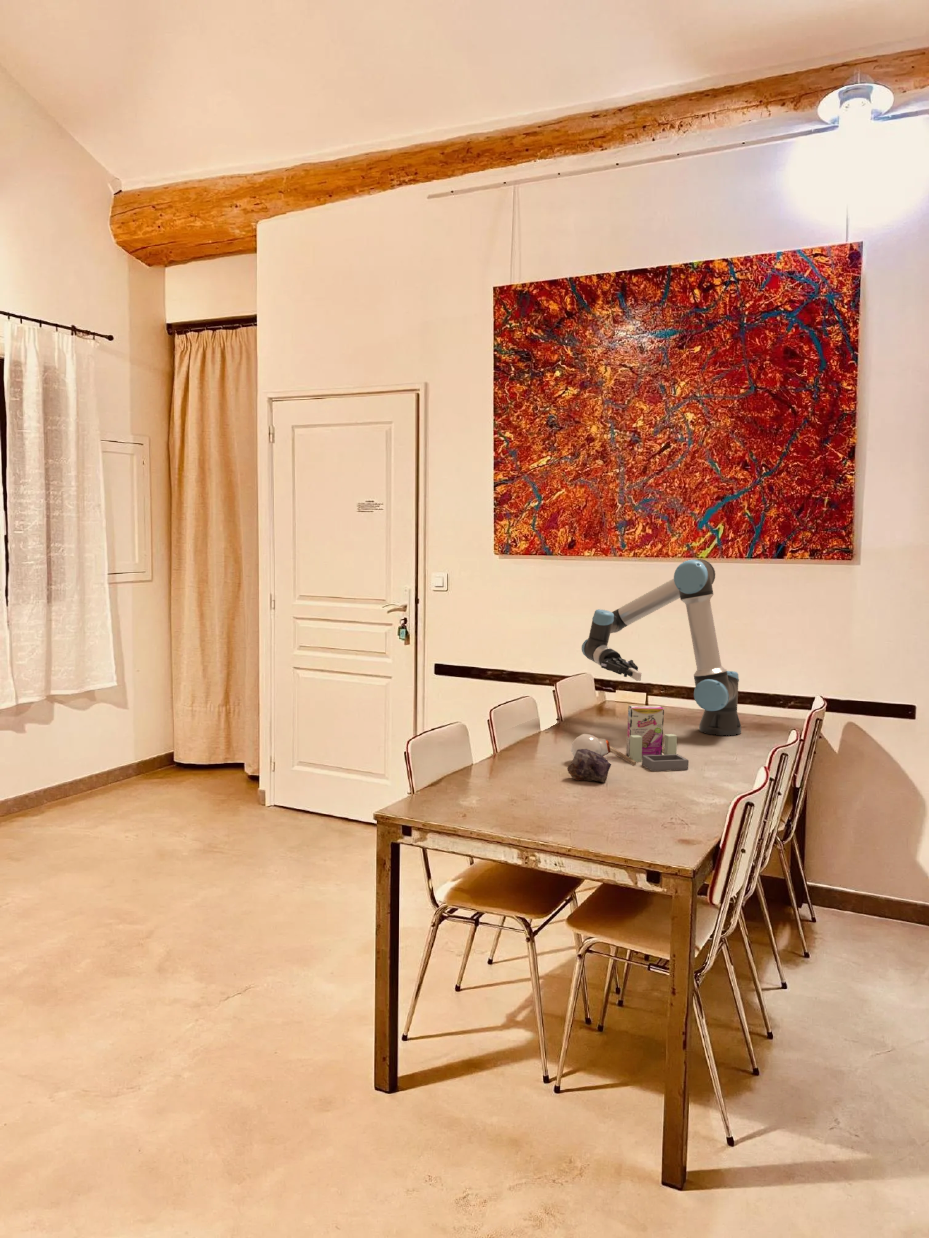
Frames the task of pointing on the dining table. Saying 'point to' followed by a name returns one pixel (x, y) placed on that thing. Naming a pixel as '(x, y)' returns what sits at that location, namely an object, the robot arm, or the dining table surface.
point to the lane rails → (625, 755)
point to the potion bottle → (591, 744)
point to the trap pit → (665, 762)
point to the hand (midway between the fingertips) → (639, 676)
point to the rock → (589, 766)
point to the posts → (636, 746)
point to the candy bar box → (646, 728)
